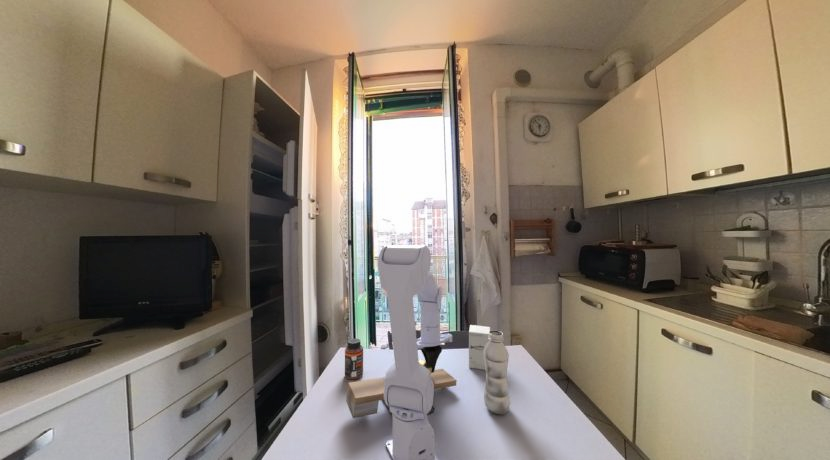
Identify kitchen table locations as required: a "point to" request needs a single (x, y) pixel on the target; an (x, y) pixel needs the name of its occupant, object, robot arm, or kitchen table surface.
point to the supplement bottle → (354, 359)
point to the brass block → (425, 365)
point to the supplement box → (477, 346)
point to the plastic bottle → (496, 374)
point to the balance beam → (369, 392)
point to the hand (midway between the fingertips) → (430, 370)
